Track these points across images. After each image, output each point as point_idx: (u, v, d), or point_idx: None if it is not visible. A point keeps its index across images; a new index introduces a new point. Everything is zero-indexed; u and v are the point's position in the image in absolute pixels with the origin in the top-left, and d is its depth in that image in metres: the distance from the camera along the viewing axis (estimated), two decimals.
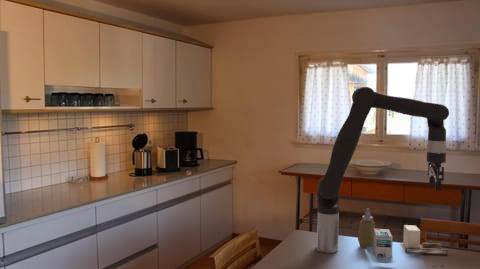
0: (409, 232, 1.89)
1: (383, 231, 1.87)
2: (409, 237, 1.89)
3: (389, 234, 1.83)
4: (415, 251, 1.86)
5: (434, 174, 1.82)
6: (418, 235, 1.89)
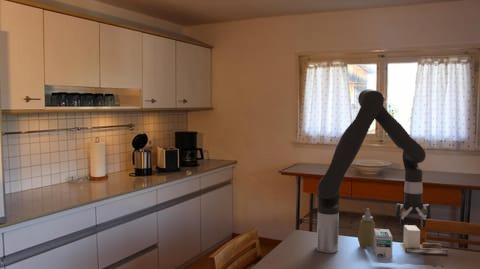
0: (409, 232, 1.89)
1: (383, 231, 1.87)
2: (409, 237, 1.89)
3: (389, 234, 1.83)
4: (415, 251, 1.86)
5: (422, 213, 1.90)
6: (418, 235, 1.89)
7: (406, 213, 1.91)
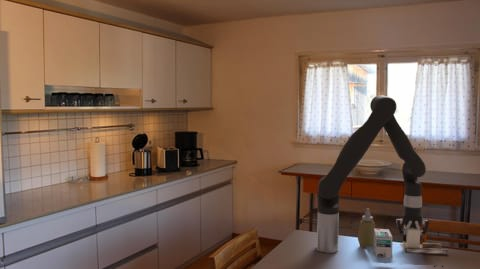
0: (409, 232, 1.89)
1: (383, 231, 1.87)
2: (409, 237, 1.89)
3: (389, 234, 1.83)
4: (415, 251, 1.86)
5: None
6: (418, 235, 1.89)
7: (407, 228, 1.91)
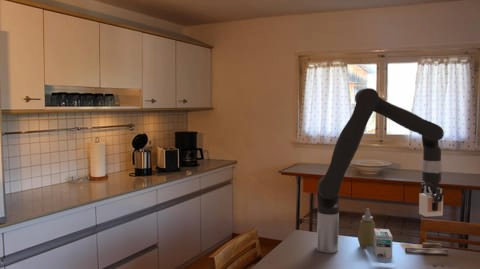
0: (420, 195, 1.89)
1: (383, 231, 1.87)
2: (419, 201, 1.89)
3: (389, 234, 1.83)
4: (415, 251, 1.86)
5: (432, 195, 1.84)
6: (425, 200, 1.85)
7: (424, 192, 1.90)
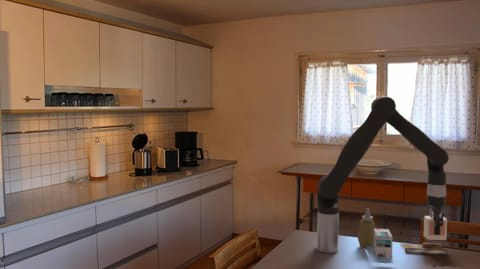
0: (424, 218, 1.91)
1: (383, 231, 1.87)
2: (424, 223, 1.91)
3: (389, 234, 1.83)
4: (415, 251, 1.86)
5: (433, 218, 1.86)
6: (426, 223, 1.87)
7: (429, 215, 1.91)
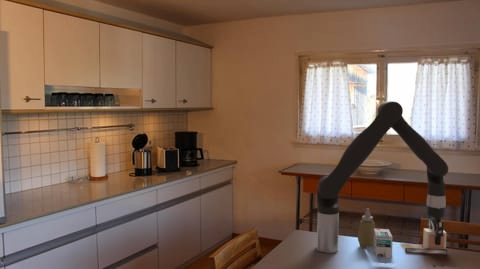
0: None
1: (383, 231, 1.87)
2: (423, 236, 1.92)
3: (389, 234, 1.83)
4: (415, 251, 1.86)
5: (434, 228, 1.85)
6: (426, 236, 1.88)
7: (429, 224, 1.92)
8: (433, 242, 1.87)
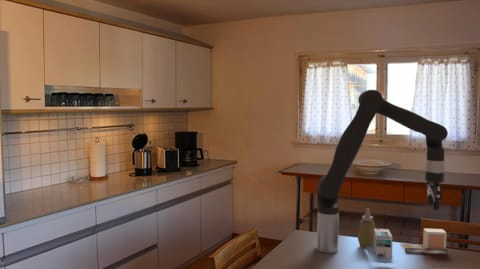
0: None
1: (383, 231, 1.87)
2: (423, 236, 1.92)
3: (389, 234, 1.83)
4: (415, 251, 1.86)
5: (432, 193, 1.85)
6: (426, 236, 1.88)
7: (427, 190, 1.92)
8: (433, 242, 1.87)
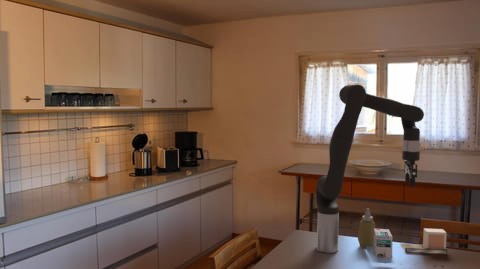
0: None
1: (383, 231, 1.87)
2: (423, 236, 1.92)
3: (389, 234, 1.83)
4: (415, 251, 1.86)
5: (409, 171, 1.97)
6: (426, 236, 1.88)
7: (405, 169, 2.04)
8: (433, 242, 1.87)
